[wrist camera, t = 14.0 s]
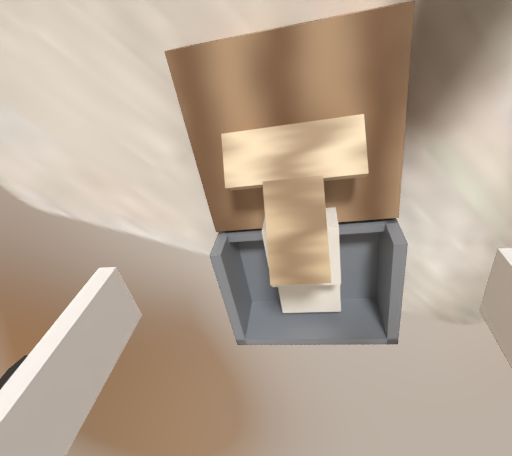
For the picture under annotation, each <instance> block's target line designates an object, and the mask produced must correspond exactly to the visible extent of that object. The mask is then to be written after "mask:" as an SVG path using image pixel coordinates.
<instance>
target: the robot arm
mask: <svg viewBox="0 0 512 456" xmlns="http://www.w3.org/2000/svg"><path fill="white" fill-rule="evenodd" d="M479 311H480V313H481V314H482V316H483V318H484V320H485V321H486V323H487V325H488V327H489V328H490V330H491V332H492V334H493V335H494V337H495V339H496V341H497V343H498V344H499V346H500V348H501V350H502V352H503V353H504V355H505V357H506V358H507V360H508V362H509V364H510V366H511V367H512V248H498V249H497V253H496V256H495V259H494V263H493V266H492V270H491V273H490V276H489V280H488V283H487V286H486V290H485V293H484V297H483V300H482V303H481V307H480V310H479ZM141 316H142V314H141V312H140V311H139V309H138V307H137V305H136V303H135V301H134V299H133V297H132V296H131V294H130V292H129V290H128V288H127V286H126V284H125V282H124V281H123V279H122V277H121V275H120V273H119V271H118V270H117V268H116V267H107V268H99V269H98V270H97V271H96V272H95V273H94V275H93V276H92V277H91V278H90V280H89V281H88V282H87V284H86V285H85V286H84V287H83V288H82V290H81V291H80V292H79V293H78V294H77V296H76V297H75V298H74V299H73V301H72V302H71V303H70V304H69V306H68V307H67V308H66V309H65V311H64V312H63V313H62V314H61V316H60V317H59V318H58V319H57V320H56V322H55V323H54V324H53V325H52V327H51V328H50V329H49V330H48V332H47V333H46V334H45V335H44V336H43V338H42V339H41V340H40V342H39V343H38V344H37V345H36V347H35V348H34V349H33V350H32V351H31V353H30V354H29V355H28V356H27V355H25V356H24V357H23V358H21V359H20V360H19V361H18V362H17V363H15V364H14V365H13V366H12V367H11V368H9V369H8V370H7V372H6V373H5V374H4V375H3V376H2V377H1V379H0V456H65V455H66V454H67V452H68V450H69V448H70V446H71V444H72V443H73V441H74V439H75V437H76V435H77V433H78V432H79V430H80V428H81V426H82V424H83V422H84V420H85V419H86V417H87V415H88V413H89V411H90V410H91V408H92V406H93V404H94V402H95V400H96V399H97V397H98V395H99V393H100V391H101V389H102V388H103V386H104V384H105V382H106V380H107V378H108V376H109V375H110V373H111V371H112V369H113V367H114V365H115V364H116V362H117V360H118V358H119V356H120V354H121V353H122V351H123V349H124V347H125V345H126V343H127V342H128V340H129V338H130V336H131V334H132V332H133V331H134V329H135V327H136V325H137V323H138V321H139V320H140V318H141Z"/></svg>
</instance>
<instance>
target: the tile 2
mask: <svg viewBox="0 0 512 456" xmlns="http://www.w3.org/2000/svg"><path fill="white" fill-rule="evenodd" d="M326 219H327V232H328V245H329V258H330V271H331V283H323V284H298V285H273V286H272V287H290V286H315V285H340V284H341V268H340V244H339V225H338V219H337V213H336V207H329V208H326ZM262 236H263V241H264V246H265V252H266V257H267V262H268V248H267V235H266V221H265V218H264V223H263V228H262ZM268 267H269V262H268Z"/></svg>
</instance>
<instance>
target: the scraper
mask: <svg viewBox="0 0 512 456" xmlns="http://www.w3.org/2000/svg"><path fill="white" fill-rule="evenodd" d="M221 138H222V151H223V165H224V179H225V188H226V189H228V190H231V191H232V190H242V189H252V188H262V187H263V195H264V208H265V221H266V235H267V248H268V262H269V275H270V286H273V285H298V284H323V283H331V271H330V258H329V245H328V232H327V219H326V207H325V194H324V181H330V180H340V179H349V178H359V177H366V176H367V175H368V174H369V171H368V159H367V146H366V133H365V121H364V114H360V115H353V116H346V117H338V118H331V119H324V120H317V121H310V122H303V123H296V124H288V125H281V126H274V127H267V128H260V129H253V130H245V131H238V132H231V133H224V134H221Z"/></svg>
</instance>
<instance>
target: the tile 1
mask: <svg viewBox="0 0 512 456" xmlns="http://www.w3.org/2000/svg"><path fill="white" fill-rule="evenodd" d="M278 290H279V295H280V301H281V306H282V312H283V313H305V312H341V299H340V285H315V286H290V287H278Z"/></svg>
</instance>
